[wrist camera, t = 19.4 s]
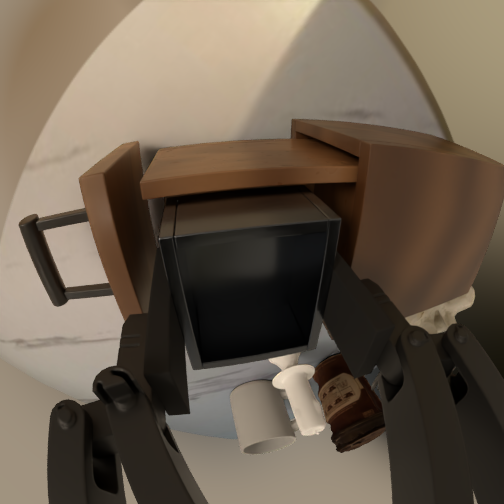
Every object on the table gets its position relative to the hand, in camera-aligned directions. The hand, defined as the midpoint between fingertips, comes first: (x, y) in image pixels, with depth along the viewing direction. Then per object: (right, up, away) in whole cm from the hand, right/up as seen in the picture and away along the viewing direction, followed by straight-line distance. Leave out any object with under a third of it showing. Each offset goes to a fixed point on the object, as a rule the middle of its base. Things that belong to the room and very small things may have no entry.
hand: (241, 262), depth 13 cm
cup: (+2, -19, +23) cm, 29 cm away
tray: (0, 0, 0) cm, 0 cm away
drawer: (-4, +4, +6) cm, 8 cm away
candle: (+4, -10, +18) cm, 21 cm away
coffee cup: (+12, -16, +23) cm, 30 cm away
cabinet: (+10, +6, +9) cm, 15 cm away
